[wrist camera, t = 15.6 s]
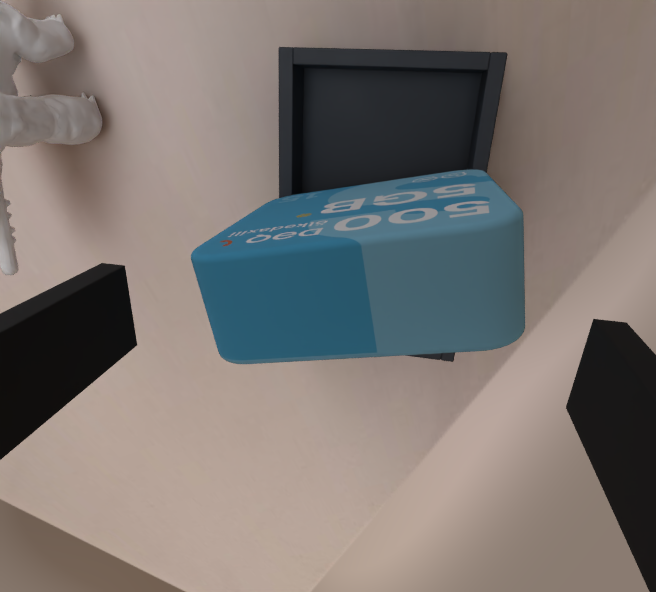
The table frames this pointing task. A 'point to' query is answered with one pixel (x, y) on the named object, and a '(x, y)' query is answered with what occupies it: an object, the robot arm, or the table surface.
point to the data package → (368, 272)
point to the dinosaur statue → (36, 103)
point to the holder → (383, 116)
